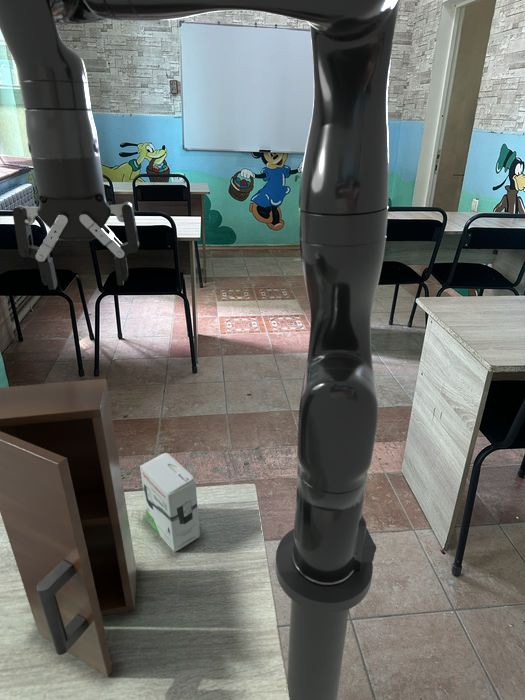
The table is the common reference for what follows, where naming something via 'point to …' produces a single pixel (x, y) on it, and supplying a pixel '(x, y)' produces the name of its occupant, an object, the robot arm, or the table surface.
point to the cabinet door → (51, 550)
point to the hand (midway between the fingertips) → (87, 285)
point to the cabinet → (83, 472)
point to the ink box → (170, 501)
